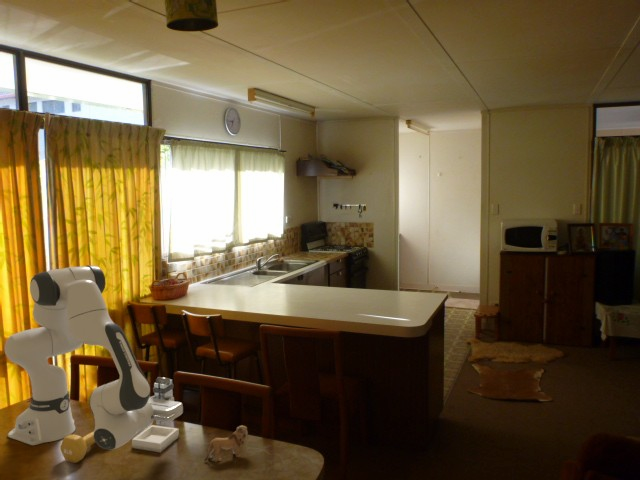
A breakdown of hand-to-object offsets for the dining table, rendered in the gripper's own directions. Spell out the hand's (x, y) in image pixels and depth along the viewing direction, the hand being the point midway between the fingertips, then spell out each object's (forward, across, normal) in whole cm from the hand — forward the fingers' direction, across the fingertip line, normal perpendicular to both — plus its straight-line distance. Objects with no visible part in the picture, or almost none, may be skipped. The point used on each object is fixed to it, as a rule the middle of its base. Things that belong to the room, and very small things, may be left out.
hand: (165, 397), depth 175 cm
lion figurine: (0, -22, +17) cm, 28 cm away
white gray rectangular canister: (-1, 0, +8) cm, 8 cm away
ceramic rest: (+2, +6, +17) cm, 18 cm away
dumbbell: (-8, +24, +18) cm, 31 cm away
